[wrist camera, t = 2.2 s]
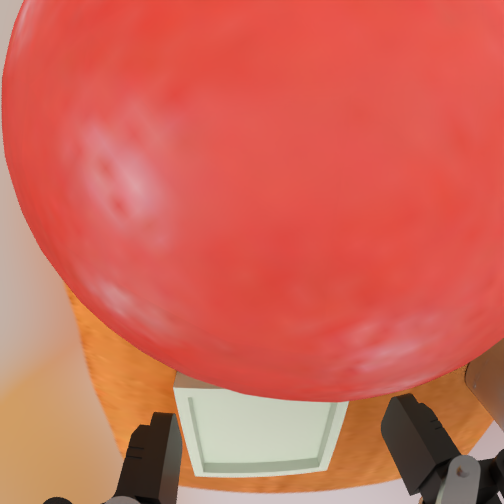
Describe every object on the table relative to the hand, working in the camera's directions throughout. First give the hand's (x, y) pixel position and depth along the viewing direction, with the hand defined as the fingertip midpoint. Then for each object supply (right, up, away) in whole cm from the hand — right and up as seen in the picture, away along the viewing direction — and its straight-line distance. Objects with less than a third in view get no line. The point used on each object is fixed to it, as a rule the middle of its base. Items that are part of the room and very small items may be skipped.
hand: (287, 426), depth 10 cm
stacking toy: (-1, +13, +9) cm, 16 cm away
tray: (0, -10, +15) cm, 18 cm away
